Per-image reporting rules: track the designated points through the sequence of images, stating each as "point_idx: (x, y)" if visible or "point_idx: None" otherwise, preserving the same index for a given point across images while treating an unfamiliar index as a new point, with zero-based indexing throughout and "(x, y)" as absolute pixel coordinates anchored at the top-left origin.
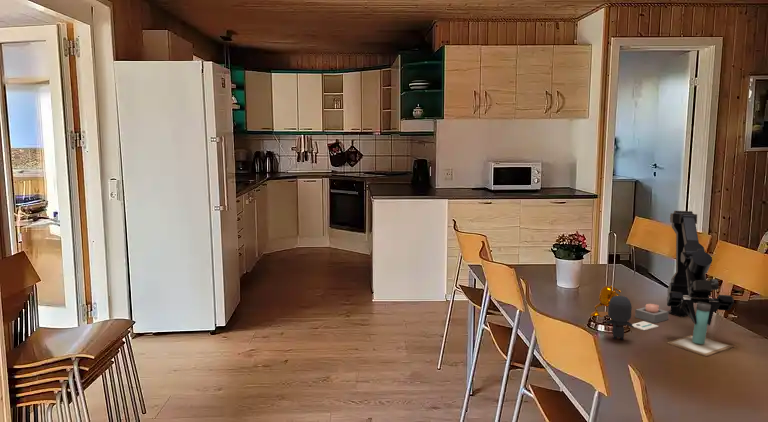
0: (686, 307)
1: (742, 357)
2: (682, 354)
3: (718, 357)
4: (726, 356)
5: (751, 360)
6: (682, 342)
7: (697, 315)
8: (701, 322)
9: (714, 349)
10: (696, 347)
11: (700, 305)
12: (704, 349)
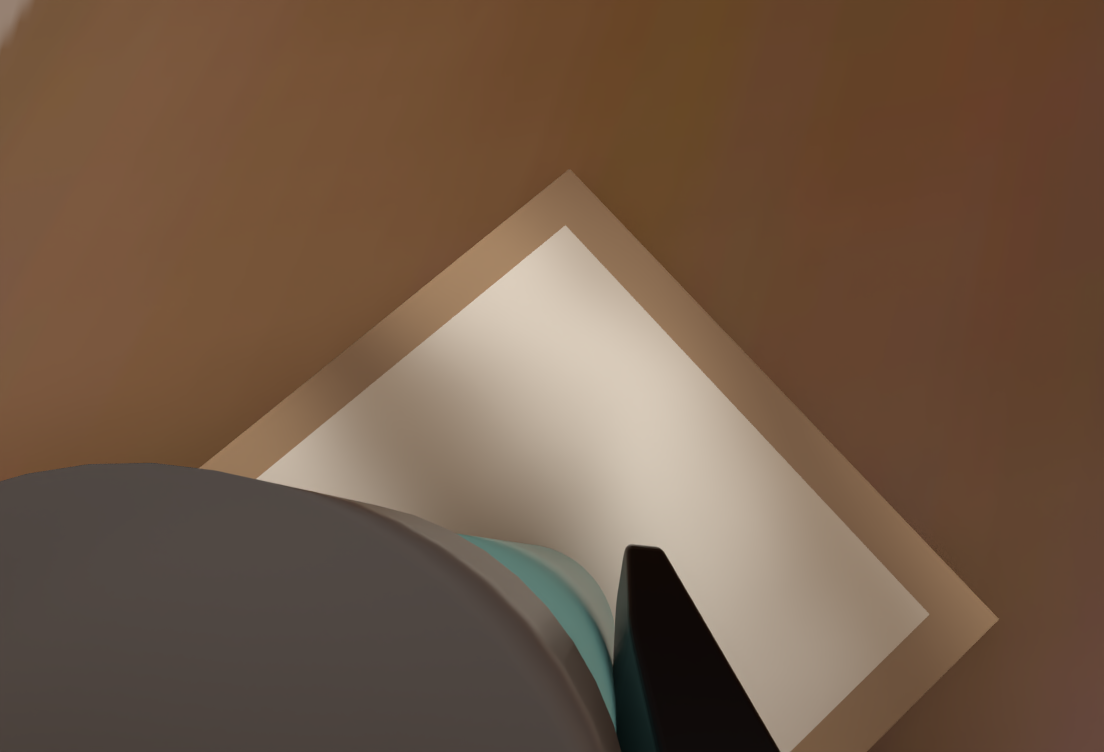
0: None
1: (103, 239)
2: (850, 210)
3: (416, 186)
4: (297, 238)
5: (43, 157)
6: (759, 640)
7: (597, 667)
8: (498, 543)
9: (371, 405)
10: (605, 447)
11: (523, 626)
12: (516, 383)
